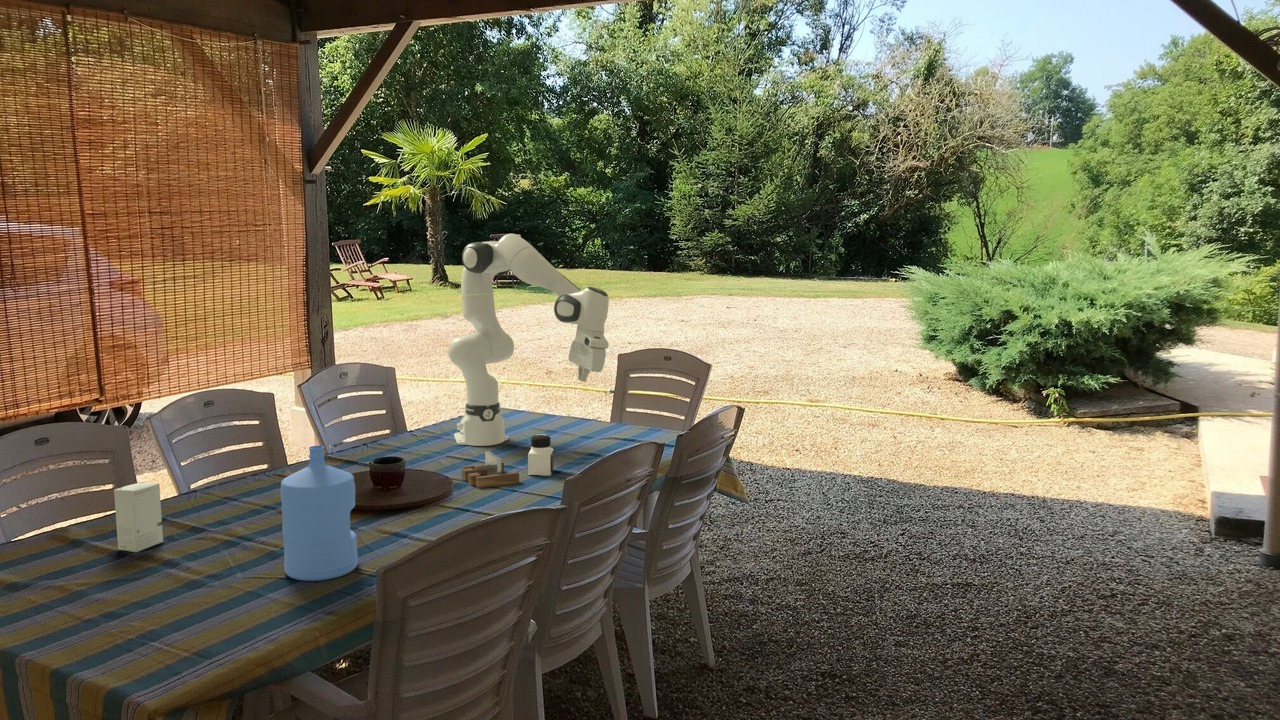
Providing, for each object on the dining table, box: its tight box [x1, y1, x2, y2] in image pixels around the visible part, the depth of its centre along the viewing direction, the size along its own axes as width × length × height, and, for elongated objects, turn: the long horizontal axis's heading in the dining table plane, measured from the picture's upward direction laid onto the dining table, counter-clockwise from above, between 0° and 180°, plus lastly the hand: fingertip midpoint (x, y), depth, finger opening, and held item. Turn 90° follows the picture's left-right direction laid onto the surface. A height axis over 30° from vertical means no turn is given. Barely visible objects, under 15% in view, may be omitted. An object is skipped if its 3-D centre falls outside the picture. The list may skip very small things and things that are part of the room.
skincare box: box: [113, 481, 164, 553], centre depth 217 cm, size 8×6×15 cm
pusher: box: [475, 450, 502, 476], centre depth 277 cm, size 11×6×7 cm, turn 28°
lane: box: [461, 461, 520, 489], centre depth 278 cm, size 15×14×3 cm
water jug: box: [279, 445, 359, 582], centre depth 203 cm, size 16×16×28 cm
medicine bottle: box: [527, 433, 555, 477], centre depth 285 cm, size 7×7×12 cm
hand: (581, 380), depth 293 cm, fingers closed
